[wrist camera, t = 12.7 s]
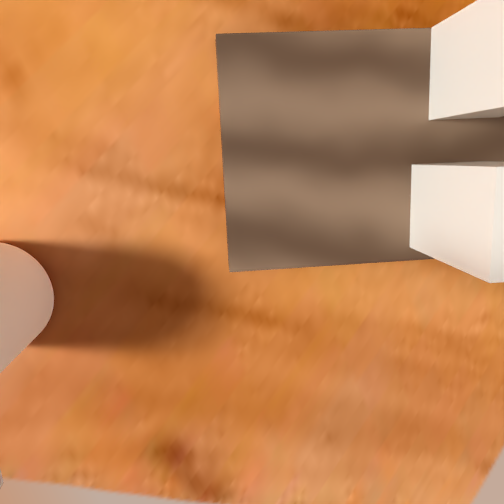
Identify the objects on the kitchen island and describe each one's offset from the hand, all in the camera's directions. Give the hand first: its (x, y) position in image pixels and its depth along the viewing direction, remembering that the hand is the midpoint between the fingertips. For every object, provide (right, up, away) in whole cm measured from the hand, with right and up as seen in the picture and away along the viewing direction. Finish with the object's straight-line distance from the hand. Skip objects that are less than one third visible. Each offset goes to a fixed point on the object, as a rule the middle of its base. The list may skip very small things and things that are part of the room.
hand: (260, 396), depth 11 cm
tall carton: (+14, +7, +22) cm, 27 cm away
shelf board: (+9, +11, +23) cm, 27 cm away
